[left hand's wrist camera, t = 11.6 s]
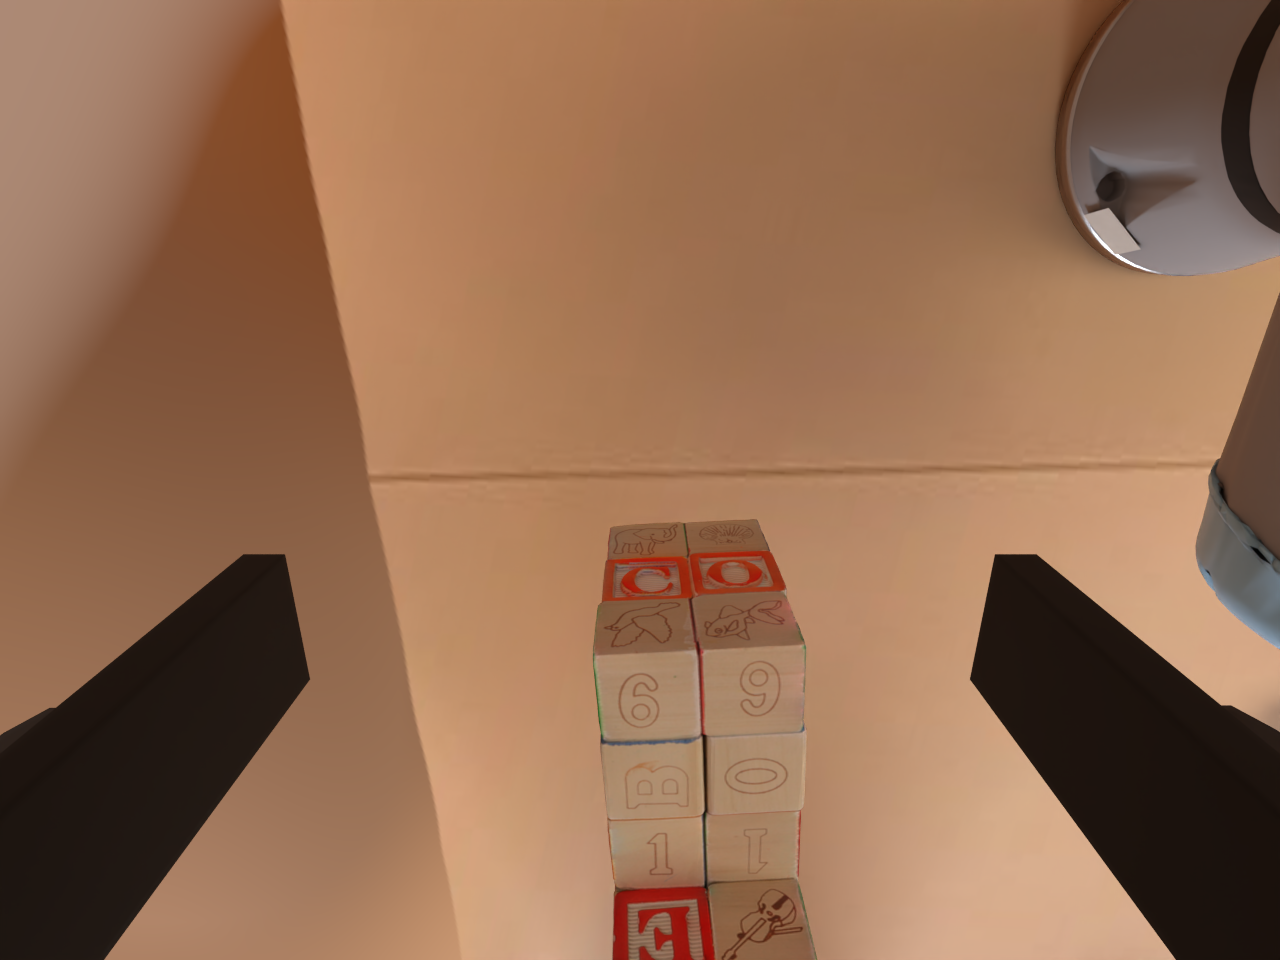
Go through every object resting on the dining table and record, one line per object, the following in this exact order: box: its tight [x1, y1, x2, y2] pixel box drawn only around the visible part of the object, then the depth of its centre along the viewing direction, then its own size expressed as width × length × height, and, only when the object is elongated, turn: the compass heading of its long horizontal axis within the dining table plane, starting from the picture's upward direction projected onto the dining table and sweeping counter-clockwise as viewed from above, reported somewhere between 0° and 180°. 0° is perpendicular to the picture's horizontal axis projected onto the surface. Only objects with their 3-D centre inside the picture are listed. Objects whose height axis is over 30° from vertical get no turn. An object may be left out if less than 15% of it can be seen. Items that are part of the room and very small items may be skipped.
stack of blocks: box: [593, 519, 817, 960], centre depth 26 cm, size 21×6×12 cm, turn 3°
